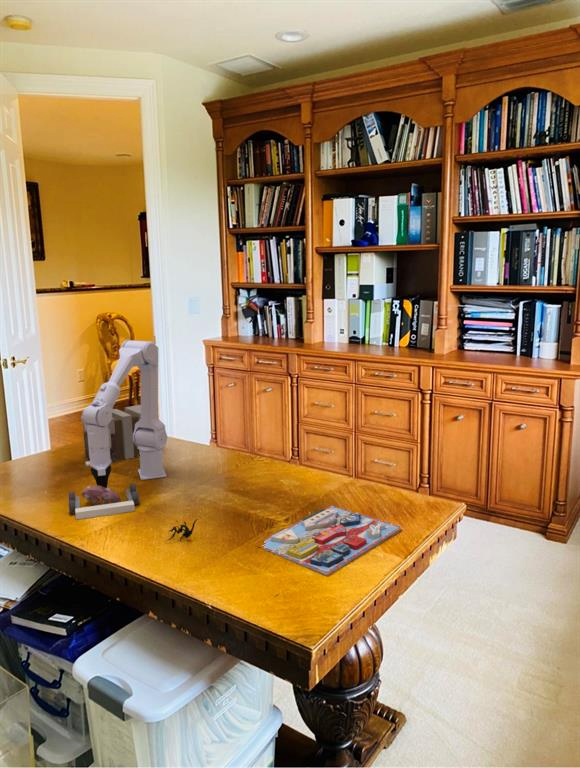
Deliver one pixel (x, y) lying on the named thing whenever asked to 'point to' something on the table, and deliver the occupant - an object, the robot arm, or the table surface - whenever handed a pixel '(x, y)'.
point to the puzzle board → (329, 539)
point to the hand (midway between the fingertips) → (102, 491)
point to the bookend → (120, 433)
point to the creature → (186, 533)
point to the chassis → (106, 508)
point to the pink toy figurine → (100, 495)
